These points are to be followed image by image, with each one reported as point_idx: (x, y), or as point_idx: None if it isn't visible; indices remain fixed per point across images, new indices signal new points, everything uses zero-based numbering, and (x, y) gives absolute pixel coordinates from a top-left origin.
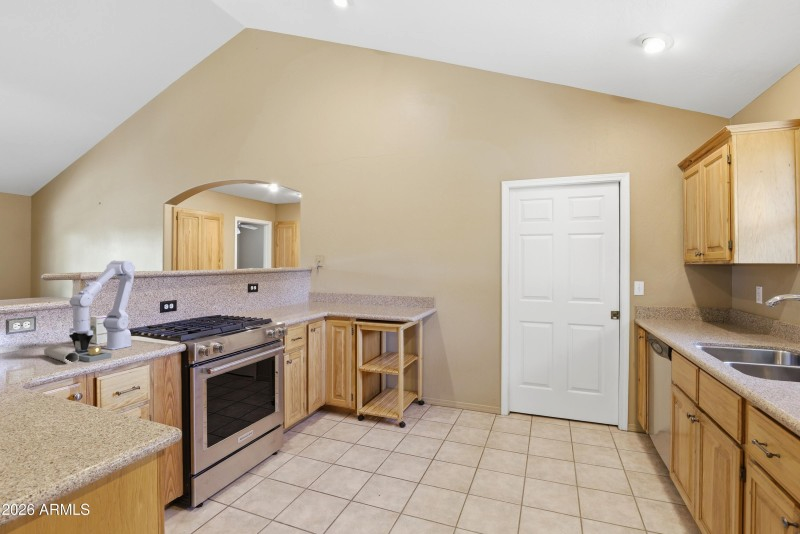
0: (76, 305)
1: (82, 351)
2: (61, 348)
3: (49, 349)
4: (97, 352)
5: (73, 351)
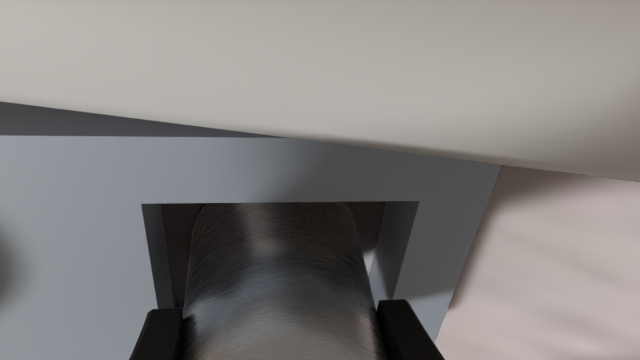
0: None
1: (185, 295)
2: (534, 140)
3: None
4: None
5: (429, 251)
